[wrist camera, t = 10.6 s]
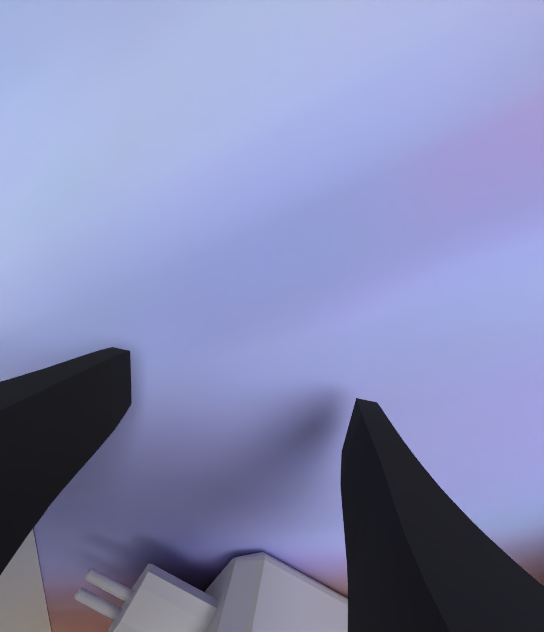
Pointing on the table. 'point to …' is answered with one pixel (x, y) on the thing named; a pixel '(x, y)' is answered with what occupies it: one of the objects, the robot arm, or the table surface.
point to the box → (23, 592)
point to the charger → (222, 601)
